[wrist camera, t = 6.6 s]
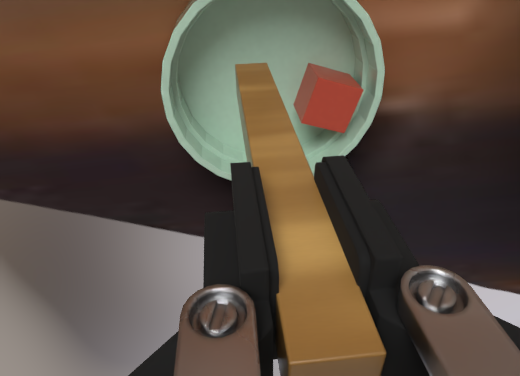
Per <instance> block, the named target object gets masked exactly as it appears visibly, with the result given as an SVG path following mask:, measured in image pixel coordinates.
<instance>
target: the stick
mask: <svg viewBox="0 0 520 376" xmlns="http://www.w3.org/2000/svg"><path fill="white" fill-rule="evenodd" d="M235 75H236V93H237V100H238V107H239V113H240V120H241V126H242V132H243V139H244V145H245V152H246V158H247V162H251V167H259V170H260V175H261V180H262V185H263V190H264V195H265V200H266V205H267V210H268V215H269V220H270V225H271V230H272V235H273V240H274V245H275V250H276V255H277V260H278V268H279V293H278V294H276V350H277V356H278V363H279V369H280V375H281V376H381V373H382V369H383V365H384V362H385V358H386V350H385V348H384V345H383V343H382V340H381V338H380V336H379V333H378V331H377V328H376V326H375V323H374V321H373V319H372V316H371V314H370V311H369V309H368V306H367V304H366V302H365V299H364V297H363V294H362V292H361V290H360V287H359V286H357V284H356V281H355V279H354V277H353V274H352V272H351V269H350V267H349V264H348V262H347V259H346V257H345V254H344V252H343V250H342V247H341V245H340V242H339V240H338V237H337V235H336V232H335V230H334V227H333V225H332V222H331V220H330V218H329V215H328V213H327V210H326V208H325V205H324V203H323V200H322V198H321V195H320V193H319V191H318V188H317V186H316V183H315V181H314V176H313V173H312V171H311V168H310V166H309V164H308V161H307V159H306V156H305V154H304V152H303V149H302V147H301V144H300V142H299V139H298V137H297V135H296V132H295V130H294V127H293V125H292V122H291V120H290V118H289V115H288V113H287V110H286V108H285V106H284V103H283V101H282V98H281V96H280V93H279V91H278V89H277V86H276V84H275V81H274V79H273V76H272V74H271V72H270V69H269V67H268V64H267V63H249V64H235Z"/></svg>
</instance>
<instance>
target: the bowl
mask: <svg viewBox="0 0 520 376" xmlns="http://www.w3.org/2000/svg"><path fill="white" fill-rule="evenodd" d="M249 63H267V64H268V67H269V69H270V72H271V74H272V76H273V79H274V81H275V84H276V86H277V89H278V91H279V93H280V96H281V98H282V101H283V103H284V106H285V108H286V110H287V113H288V115H289V118H290V120H291V122H292V125H293V127H294V130H295V132H296V135H297V137H298V139H299V142H300V144H301V147H302V149H303V152H304V154H305V156H306V159H307V161H308V164H309V166H310V168H311V171H312V173H313V176H314V170H315V164H316V162H321V161H322V158H323V157H327V156H342V155H343V156H346V155H347V154H348V153H349V152H350V151H351V150H352V149H353V148H355V147H356V145H357V144H358V143H359V141H360V140H361V138H362V137H363V136H364V134H365V133H366V131H367V130H368V128H369V127H370V125H371V123H372V121H373V119H374V116H375V114H376V111H377V108H378V106H379V103H380V101H381V98H382V91H383V82H384V74H385V67H384V60H383V53H382V46H381V41H380V38H379V36H378V34H377V32H376V30H375V27H374V25H373V23H372V21H371V19H370V17H369V14H368V13H367V12H366V11H365V10H364V9H363V7H362V6H361V5H360V4H359V3H358V2H357V1H356V0H191V1H190V2H189V3H188V5H187V6H186V8H185V9H184V11H183V12H182V13H181V15H180V16H179V18H178V20H177V22H176V25H175V28H174V30H173V33H172V36H171V39H170V41H169V44H168V47H167V50H166V53H165V55H164V58H163V62H162V78H161V95H162V99H163V104H164V109H165V113H166V118H167V120H168V122H169V124H170V126H171V128H172V130H173V132H174V134H175V136H176V138H177V139H178V141H179V142H180V144H181V145H182V146H183V147H184V148H185V150H186V151H187V152H188V153H189V154H190V155H191V156H192V157H193V158H194V159H195V161H197V162H198V163H199V164H201V165H202V166H204V167H205V168H207V169H208V170H210V171H211V172H213V173H214V174H216V175H218V176H220V177H223V178H225V179H228V180H231V181H232V179H231V165H230V163H239V162H247V158H246V152H245V145H244V139H243V132H242V126H241V120H240V113H239V107H238V100H237V93H236V75H235V64H249ZM308 63H312V64H315V65H319V66H322V67H326V68H330V69H333V70H337V71H340V72H344V73H348V74H350V75H351V76H352V77H353V78H354V80H355V81H356V82H357V83H358V84H359V85H360V86H361V87H362V89H363V90H364V91H363V93H362V95H361V97H360V100H359V102H358V104H357V106H356V109H355V111H354V113H353V115H352V118H351V120H350V122H349V124H348V127H347V129H346V131H345V133H340V132H336V131H332V130H328V129H324V128H319V127H315V126H311V125H307V124H303V123H301V121H300V119H299V117H298V114H297V112H296V110H295V107H294V102H295V99H296V96H297V93H298V90H299V88H300V85H301V82H302V79H303V76H304V73H305V71H306V68H307V65H308Z"/></svg>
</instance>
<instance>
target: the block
mask: <svg viewBox="0 0 520 376" xmlns="http://www.w3.org/2000/svg"><path fill="white" fill-rule="evenodd" d="M363 91H364V90H363V89H362V87H361V86H360V85H359V84H358V83H357V82H356V81H355V80H354V78H353V77H352V76H351V75H350V74H348V73H344V72H340V71H337V70H333V69H330V68H326V67H322V66H319V65H315V64H312V63H308V65H307V68H306V71H305V73H304V76H303V79H302V82H301V85H300V88H299V90H298V93H297V96H296V99H295V102H294V107H295V110H296V112H297V114H298V117H299V119H300V121H301V123H303V124H307V125H311V126H315V127H319V128H324V129H328V130H332V131H336V132H340V133H345V131H346V129H347V127H348V124H349V122H350V120H351V118H352V115H353V113H354V111H355V109H356V106H357V104H358V102H359V100H360V97H361V95H362V93H363Z"/></svg>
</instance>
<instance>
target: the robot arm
mask: <svg viewBox="0 0 520 376" xmlns="http://www.w3.org/2000/svg"><path fill="white" fill-rule="evenodd" d="M230 165H231V179H232V194H233V208H234V211H222V212H209V213H205V233H204V288H203V289H200V290H198V291H197V292H195V293H194V294H193V295H192V296H190V297H189V299H188V300H187V301H186V303H185V304H184V305H183V308H182V312H181V315H180V323H179V331H178V332H177V333H176V334H175V335H174V336H172V337H171V338H170V339H169V340H168V341H167V342H166V343H165V344H163V345H162V346H161V347H160V348H159V349H158V350H157V351H155V352H154V353H153V354H152V355H151V356H150V357H149V358H148V359H146V360H145V361H144V362H143V363H142V364H141V365H140V366H139V367H137V368H136V369H135V370H134V371H133V372H132V373H131V374H130V375H129V376H273V359H278V356H277V350H276V294H278V293H279V268H278V260H277V255H276V250H275V245H274V240H273V235H272V230H271V225H270V220H269V215H268V210H267V205H266V200H265V195H264V190H263V185H262V180H261V175H260V170H259V167H251V162H239V163H230ZM314 181H315V183H316V186H317V188H318V191H319V193H320V195H321V198H322V200H323V203H324V205H325V208H326V210H327V213H328V215H329V218H330V220H331V222H332V225H333V227H334V230H335V232H336V235H337V237H338V240H339V242H340V245H341V247H342V250H343V252H344V254H345V257H346V259H347V262H348V264H349V267H350V269H351V272H352V274H353V277H354V279H355V281H356V284H357V286H359V287H360V290H361V292H362V294H363V297H364V299H365V302H366V304H367V306H368V309H369V311H370V314H371V316H372V319H373V321H374V323H375V326H376V328H377V331H378V333H379V336H380V338H381V340H382V343H383V345H384V348H385V350H386V358H385V362H384V365H383V369H382V373H381V376H520V328H519V327H517V326H515V325H512V324H510V323H508V322H506V321H504V320H502V319H500V318H498V317H495V316H493V315H492V314H491V312H490V311H489V310H488V308H487V307H486V306H485V304H484V303H483V302H482V300H481V299H480V298H479V296H478V295H477V294H476V293H475V291H474V290H473V289H472V287H471V286H470V285H469V284H468V283H467V282H466V281H465V280H464V279H463V278H461V277H460V276H458V275H457V274H455V273H454V272H451V271H449V270H446V269H444V268H440V267H436V266H419V264H418V263H417V261H416V259H415V258H414V256H413V254H412V253H411V251H410V250H409V248H408V246H407V245H406V243H405V241H404V240H403V238H402V236H401V235H400V233H399V232H398V230H397V228H396V227H395V225H394V223H393V222H392V220H391V219H390V217H389V215H388V214H387V212H386V210H385V209H384V207H383V205H382V204H381V203H380V202H379V201H378V200H370V199H369V197H368V195H367V194H366V192H365V190H364V189H363V187H362V185H361V183H360V182H359V180H358V178H357V177H356V175H355V173H354V171H353V170H352V168H351V166H350V164H349V163H348V161H347V159H346V158H345V156H343V155H342V156H327V157H323V158H322V161H321V162H316V164H315V170H314Z"/></svg>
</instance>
